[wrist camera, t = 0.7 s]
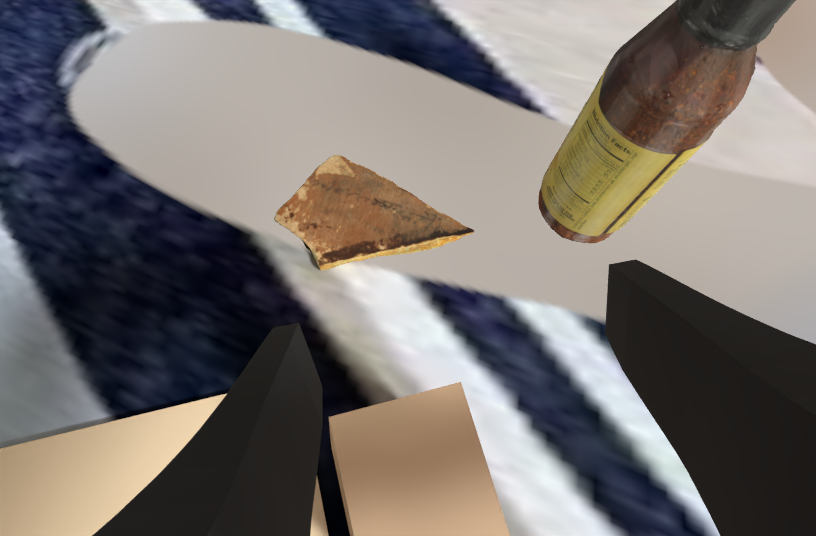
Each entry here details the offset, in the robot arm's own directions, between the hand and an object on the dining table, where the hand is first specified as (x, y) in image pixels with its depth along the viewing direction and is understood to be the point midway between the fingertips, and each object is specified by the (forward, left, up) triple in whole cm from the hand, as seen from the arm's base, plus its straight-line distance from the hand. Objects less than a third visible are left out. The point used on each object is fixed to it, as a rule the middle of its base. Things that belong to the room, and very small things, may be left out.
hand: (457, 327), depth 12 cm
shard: (+14, -2, -18) cm, 23 cm away
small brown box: (-3, +1, -18) cm, 18 cm away
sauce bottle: (+11, -16, -18) cm, 26 cm away
